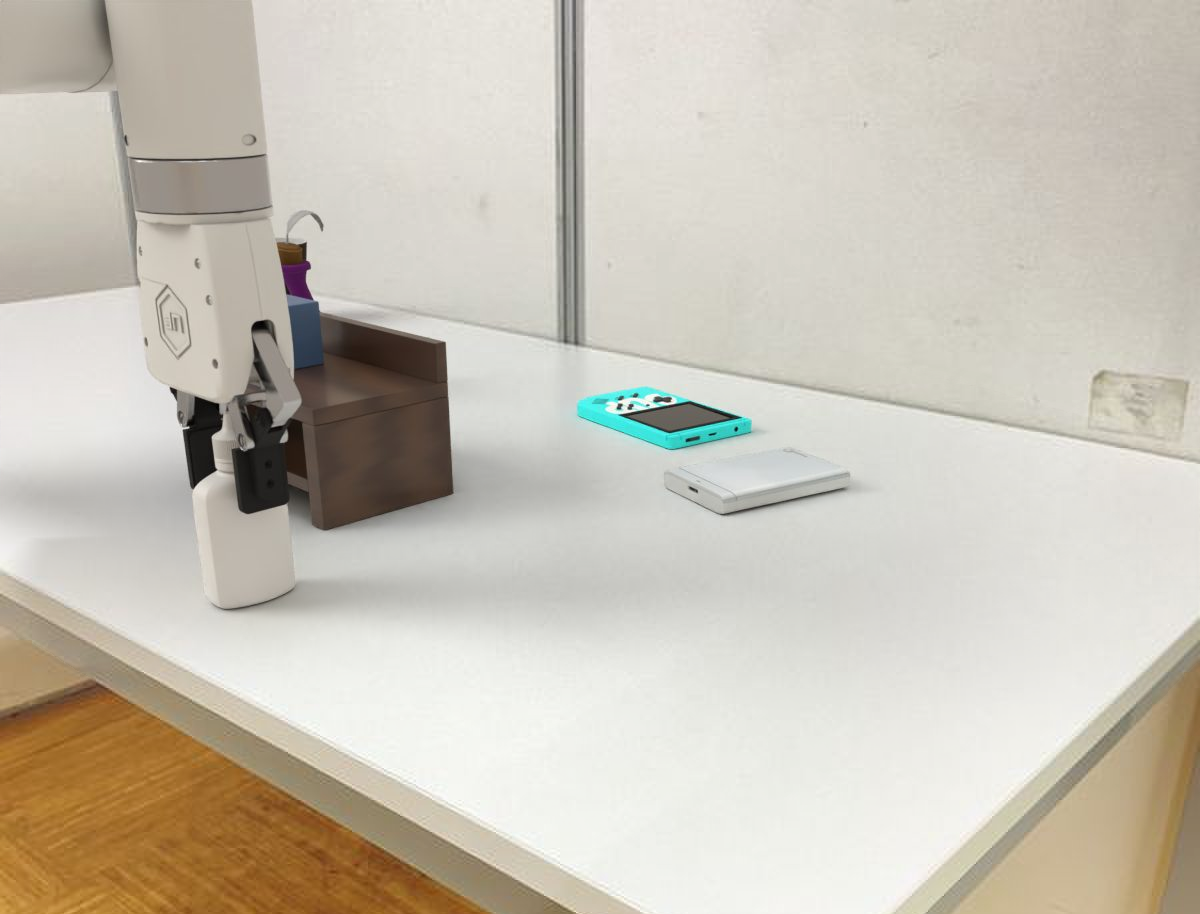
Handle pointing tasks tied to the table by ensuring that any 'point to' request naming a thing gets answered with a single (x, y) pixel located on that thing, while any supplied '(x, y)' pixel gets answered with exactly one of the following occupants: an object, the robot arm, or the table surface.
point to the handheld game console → (662, 417)
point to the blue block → (305, 332)
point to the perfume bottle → (295, 259)
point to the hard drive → (755, 479)
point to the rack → (369, 423)
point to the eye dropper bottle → (239, 537)
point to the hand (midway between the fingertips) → (239, 494)
